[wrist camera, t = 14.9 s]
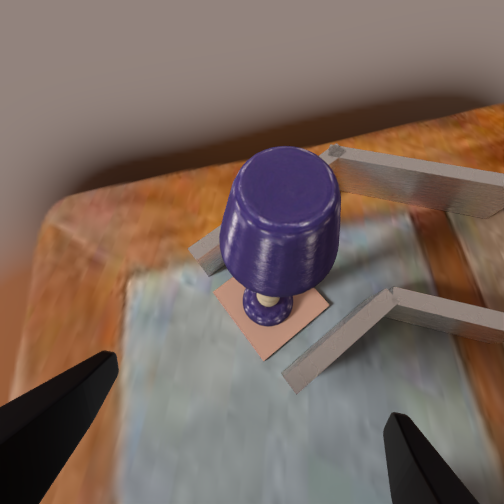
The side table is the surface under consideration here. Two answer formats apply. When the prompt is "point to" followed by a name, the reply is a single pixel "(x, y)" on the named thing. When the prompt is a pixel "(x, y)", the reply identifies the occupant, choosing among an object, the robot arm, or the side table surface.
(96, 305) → the side table surface
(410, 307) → the bent rails
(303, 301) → the end pad
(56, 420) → the robot arm
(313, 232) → the toy lamp
